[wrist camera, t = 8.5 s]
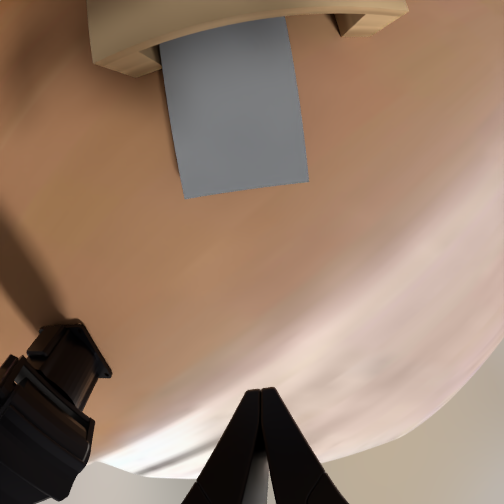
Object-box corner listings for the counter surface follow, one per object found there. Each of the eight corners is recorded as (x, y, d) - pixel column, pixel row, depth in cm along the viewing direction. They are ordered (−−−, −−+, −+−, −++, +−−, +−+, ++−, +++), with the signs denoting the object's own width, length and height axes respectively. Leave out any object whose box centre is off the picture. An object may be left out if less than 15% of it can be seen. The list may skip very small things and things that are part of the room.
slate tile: (302, 175, 18) (308, 181, 16) (192, 190, 18) (184, 199, 16) (270, -20, 12) (272, -37, 10) (164, -3, 13) (153, -16, 11)
